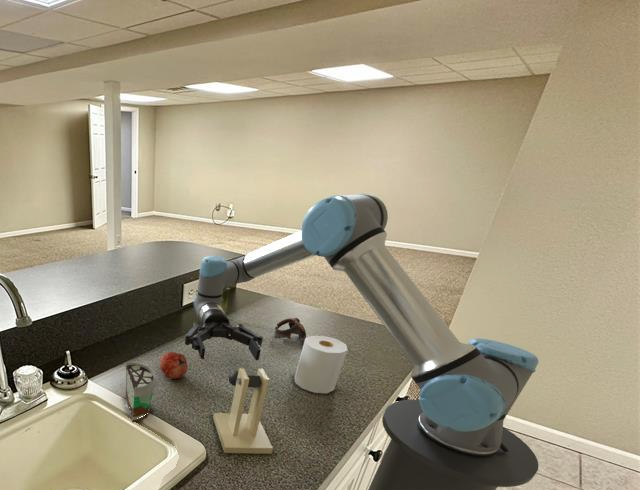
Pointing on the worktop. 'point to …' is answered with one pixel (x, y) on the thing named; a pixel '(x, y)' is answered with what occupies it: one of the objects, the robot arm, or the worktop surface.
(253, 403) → the switch bracket
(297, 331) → the brown curved openwork frame
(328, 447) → the worktop surface
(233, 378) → the lever
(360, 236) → the robot arm
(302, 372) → the toilet paper
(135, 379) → the food container
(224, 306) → the fennel bulb
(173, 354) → the pomegranate
